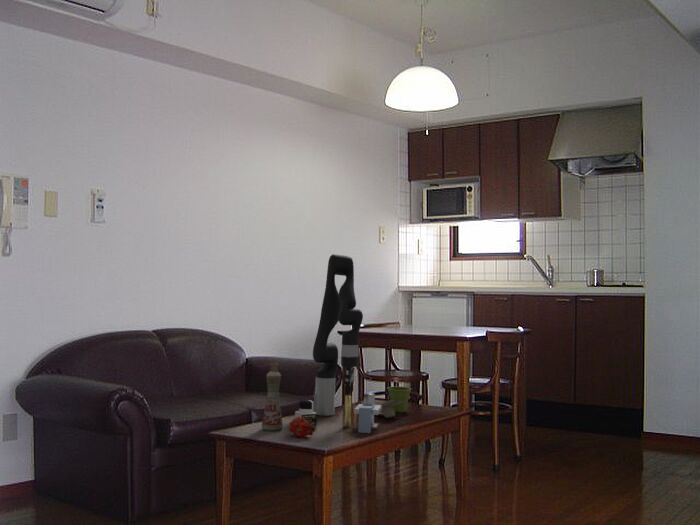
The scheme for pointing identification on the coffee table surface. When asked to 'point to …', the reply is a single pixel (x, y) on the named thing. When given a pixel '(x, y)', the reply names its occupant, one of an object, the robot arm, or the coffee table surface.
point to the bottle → (272, 401)
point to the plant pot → (399, 397)
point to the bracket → (365, 418)
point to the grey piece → (375, 411)
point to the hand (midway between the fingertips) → (349, 393)
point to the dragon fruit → (301, 427)
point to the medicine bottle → (307, 412)
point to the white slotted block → (389, 408)
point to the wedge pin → (347, 411)
